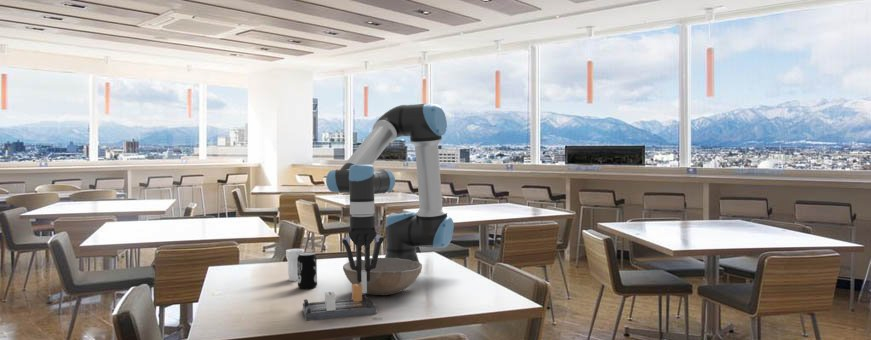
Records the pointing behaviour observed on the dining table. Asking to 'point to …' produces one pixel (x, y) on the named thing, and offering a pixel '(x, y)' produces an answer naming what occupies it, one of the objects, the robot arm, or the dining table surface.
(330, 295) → the white fader
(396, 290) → the bowl
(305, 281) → the beverage can
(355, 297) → the orange fader
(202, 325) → the dining table surface
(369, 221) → the robot arm
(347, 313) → the panel
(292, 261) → the cup
